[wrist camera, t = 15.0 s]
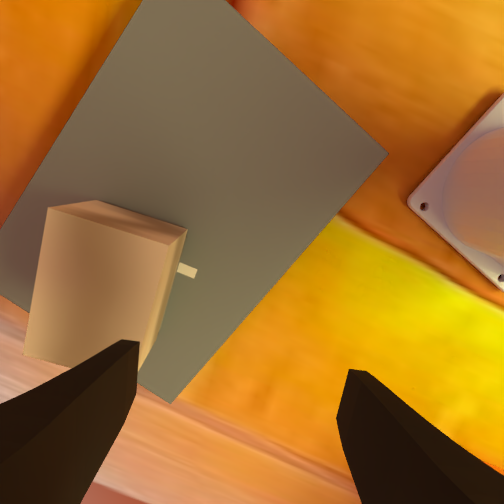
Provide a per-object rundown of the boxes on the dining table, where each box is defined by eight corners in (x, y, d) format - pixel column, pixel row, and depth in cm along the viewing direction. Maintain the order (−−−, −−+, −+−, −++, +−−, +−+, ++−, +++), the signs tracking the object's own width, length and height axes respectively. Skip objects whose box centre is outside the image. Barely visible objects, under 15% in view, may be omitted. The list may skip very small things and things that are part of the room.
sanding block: (189, 227, 17) (169, 245, 13) (158, 335, 19) (131, 384, 14) (100, 199, 17) (47, 207, 12) (76, 312, 18) (22, 354, 14)
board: (377, 155, 18) (389, 153, 16) (175, 388, 21) (170, 404, 20) (180, -28, 15) (173, -49, 14) (-8, 268, 19) (-29, 275, 18)
